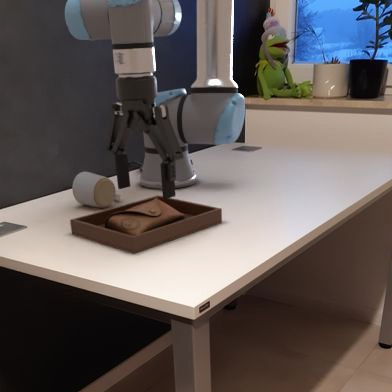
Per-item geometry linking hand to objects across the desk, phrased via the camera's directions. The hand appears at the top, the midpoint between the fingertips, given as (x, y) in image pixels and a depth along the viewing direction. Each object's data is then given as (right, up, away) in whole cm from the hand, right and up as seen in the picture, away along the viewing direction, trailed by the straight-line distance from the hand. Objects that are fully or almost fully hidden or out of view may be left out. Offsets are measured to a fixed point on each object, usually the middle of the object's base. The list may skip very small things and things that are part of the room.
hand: (145, 192), depth 109 cm
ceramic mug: (-13, +3, +22) cm, 26 cm away
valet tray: (0, -7, +3) cm, 7 cm away
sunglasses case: (0, -6, +3) cm, 7 cm away
